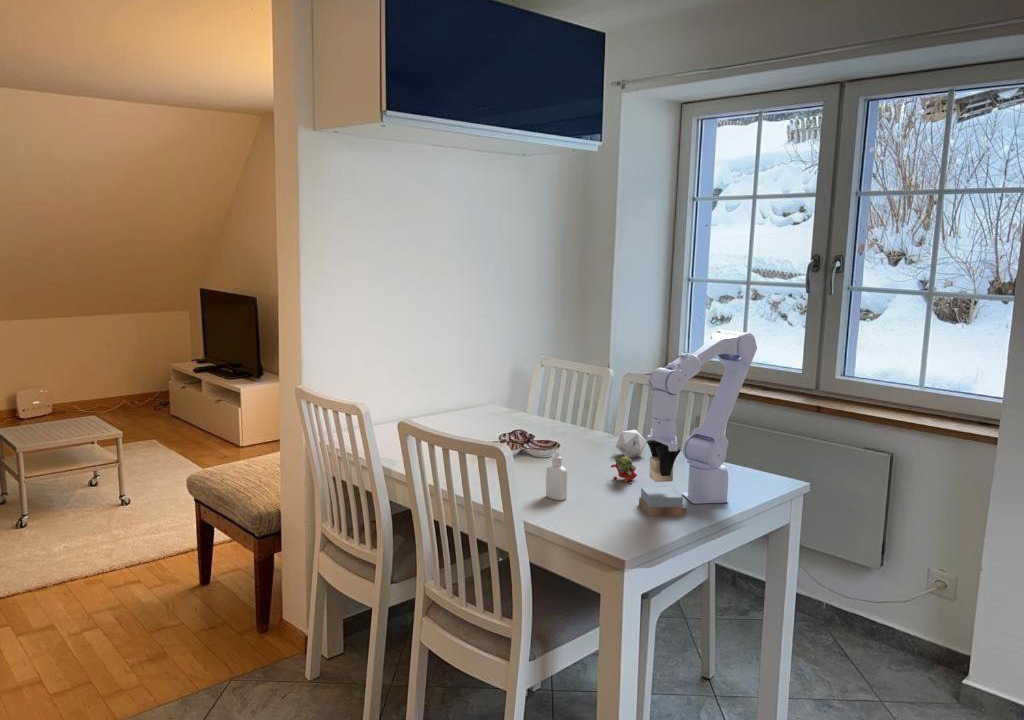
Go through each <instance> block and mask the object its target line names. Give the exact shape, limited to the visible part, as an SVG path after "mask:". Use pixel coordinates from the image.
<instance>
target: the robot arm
mask: <svg viewBox="0 0 1024 720" xmlns="http://www.w3.org/2000/svg"><path fill="white" fill-rule="evenodd" d="M757 350H758V346H757V341H756V338H755V335H754V334H752V333H751V332H740V331H734V330H733V331H732V330H725V329H718V330H717V331H715V332H714V333H712V334H711V336H710V339H709V340H708V341H707V342H706V343H704V344H702V346H701V347H699V348H698V349H697V350H695V351H694V352H693V353H691V352H690V353H689V352H682V353H681V354H680V355H679V357H678V358H676V359H674V360H673V361H671V362H669V363H667V365H665V367H657V368H656V369H654V370H653V371H652V372H651V374H650V375H649V379H648V380H647V381H648V386H649V389H650V391H651V397H652V398H653V399H652V420H651V421H652V422H651V424H652V426H651V428H650V429H649V430H650V433H649V434H648V435H646V439H647V440H646V441H647V442H646V444H647V445H648V448H649V449H650V454H651V457H659V462H660V472H661V476H670V474H671V471H672V468H673V469H674V464H675V461H676V459H677V457H678V455H680V452H681V448H679V443H678V442H677V438H678V437H677V419H678V417H677V416H678V415H677V413H678V394H679V393H680V392H682V390H683V388H684V385H685V384H686V383H687V382H688V381H689V380H690V379H692V378H693V377H695V376H697V374H699V373H700V372H701V368H702V366H703V365H704V364H706V363H708V362H710V361H711V360H714V358H716V357H717V358H718V360H719V362H720V363H721V365H723V367H724V372H723V374H722V377H721V379H720V381H719V384H718V387H717V389H716V391H715V394H714V397H713V399H712V401H711V404H710V406H709V409H708V410H707V414H706V416H705V418H704V421H703V423H702V424H701V425H699V426H697V427H695V428H693V429H692V431H691V434H689V436H688V438H686V440H685V441H684V443H683V447H682V453H683V456H684V457H685V459H686V462H687V464H689V465H688V481H687V482H688V484H687V485H688V486H687V491H686V492H685V491H683V492H681V495H682V496H684V497H685V498H686V499H687V500H688V501H690V503H692V504H694V505H695V504H696V505H697V504H699V505H700V504H721V503H722V504H723V503H724V504H725V503H729V500H728V492H729V491H728V490H729V473H728V472H729V471H728V469H727V467H726V465H724V463H725V460H726V457H727V450H728V446H729V444H730V443H729V441H728V439H727V436H726V435H725V434H724V431H725V429H726V426H727V424H728V421H729V419H730V416H731V414H732V412H733V409H734V407H735V404H736V402H737V399H738V397H739V394H740V392H741V389H742V387H743V385H744V382H745V380H746V377H747V375H748V372H749V369H750V367H751V364H752V362H753V360H754V357H755V354H756V352H757Z"/></svg>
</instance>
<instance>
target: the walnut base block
mask: <svg viewBox="0 0 1024 720" xmlns="http://www.w3.org/2000/svg"><path fill="white" fill-rule="evenodd" d="M638 505H639V506H640V508H641V509H642V510H643V511H644V512H645V513H646V514H647V515H648V516H649V517H650V518H652V517H653V518H655V517H657V518H658V517H677V516H678V517H682V516H684V517H686V516H687V510H688V509H687V507H686V506H685V505H684V504H683V506H682V507H670V508H650V507H649V506H648V505H647V504H646V503H645V501H644V500H643V499H642V498H641V496H639V498H638Z"/></svg>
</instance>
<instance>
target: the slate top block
mask: <svg viewBox="0 0 1024 720" xmlns="http://www.w3.org/2000/svg"><path fill="white" fill-rule="evenodd" d="M640 497H641V498H642V499H643V500H644V501H645V503H646V504H647V505H648V506H649V507H650V508H670V507H682V506H683V505H684V503H683V501H684V497H683V495H682V494H680V493H679V491H677V489H675V488H674V487H673V486H660V487H659V486H657V487H656V486H655V487H653V486H649V487H648V486H646V487H641V490H640Z"/></svg>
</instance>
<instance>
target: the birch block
mask: <svg viewBox="0 0 1024 720" xmlns="http://www.w3.org/2000/svg"><path fill="white" fill-rule="evenodd" d="M649 478H650V479H651V480H653V482H654V483H663V482H664V483H665V482H666V483H667V482H673V480H674V467H673V468H672V471H671V474H670V476H661V472H660V462H659V457H652V456H649Z"/></svg>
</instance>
